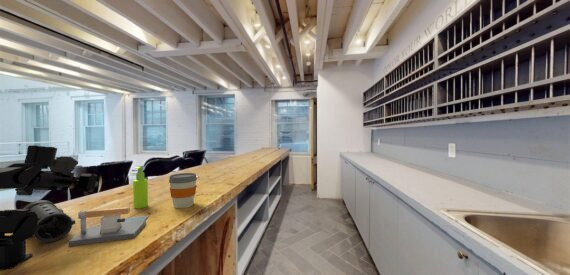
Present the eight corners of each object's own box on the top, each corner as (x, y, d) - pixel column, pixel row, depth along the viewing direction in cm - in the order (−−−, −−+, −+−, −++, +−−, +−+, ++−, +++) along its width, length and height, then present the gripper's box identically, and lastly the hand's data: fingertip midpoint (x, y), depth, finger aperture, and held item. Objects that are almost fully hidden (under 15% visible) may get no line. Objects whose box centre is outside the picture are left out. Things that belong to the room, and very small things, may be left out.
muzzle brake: (77, 235, 77) (33, 248, 69) (57, 218, 93) (19, 227, 84) (76, 208, 77) (31, 218, 68) (56, 196, 92) (18, 202, 84)
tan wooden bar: (127, 214, 78) (127, 208, 78) (76, 219, 74) (76, 213, 74) (130, 211, 80) (130, 206, 80) (81, 216, 76) (81, 210, 76)
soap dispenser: (130, 209, 103) (129, 167, 103) (136, 205, 110) (135, 165, 109) (144, 208, 105) (144, 166, 104) (149, 204, 111) (148, 164, 111)
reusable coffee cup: (197, 207, 105) (196, 176, 105) (167, 210, 101) (167, 178, 101) (197, 200, 117) (196, 172, 117) (170, 203, 112) (170, 174, 112)
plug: (121, 235, 76) (121, 216, 76) (100, 237, 75) (99, 219, 75) (127, 229, 81) (126, 212, 81) (106, 232, 79) (106, 214, 79)
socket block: (134, 237, 74) (133, 218, 74) (68, 246, 69) (68, 225, 69) (145, 224, 86) (145, 207, 86) (90, 230, 81) (89, 212, 81)
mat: (142, 223, 86) (142, 222, 86) (118, 226, 84) (118, 225, 84) (148, 216, 94) (148, 215, 94) (127, 218, 92) (127, 217, 92)
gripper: (83, 156, 73) (115, 163, 88) (23, 154, 72) (66, 161, 87) (73, 191, 70) (108, 192, 85) (11, 189, 69) (58, 190, 84)
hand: (85, 183), depth 85 cm, fingers open, 9 cm apart
